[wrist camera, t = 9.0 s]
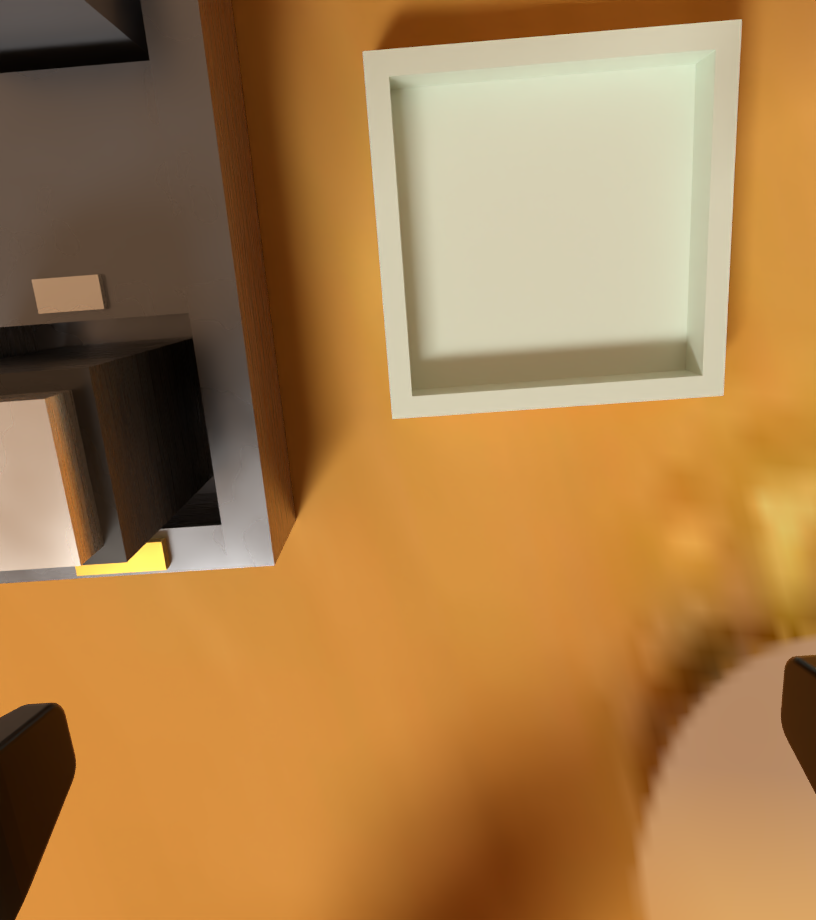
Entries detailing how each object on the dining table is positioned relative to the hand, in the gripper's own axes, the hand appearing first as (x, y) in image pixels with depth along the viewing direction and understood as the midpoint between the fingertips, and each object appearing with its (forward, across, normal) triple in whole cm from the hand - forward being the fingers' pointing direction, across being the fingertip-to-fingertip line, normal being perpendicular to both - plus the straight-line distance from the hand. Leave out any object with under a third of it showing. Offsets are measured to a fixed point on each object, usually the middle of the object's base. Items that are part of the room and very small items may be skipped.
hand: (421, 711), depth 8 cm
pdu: (+13, +8, -8) cm, 17 cm away
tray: (+13, -4, -6) cm, 15 cm away
